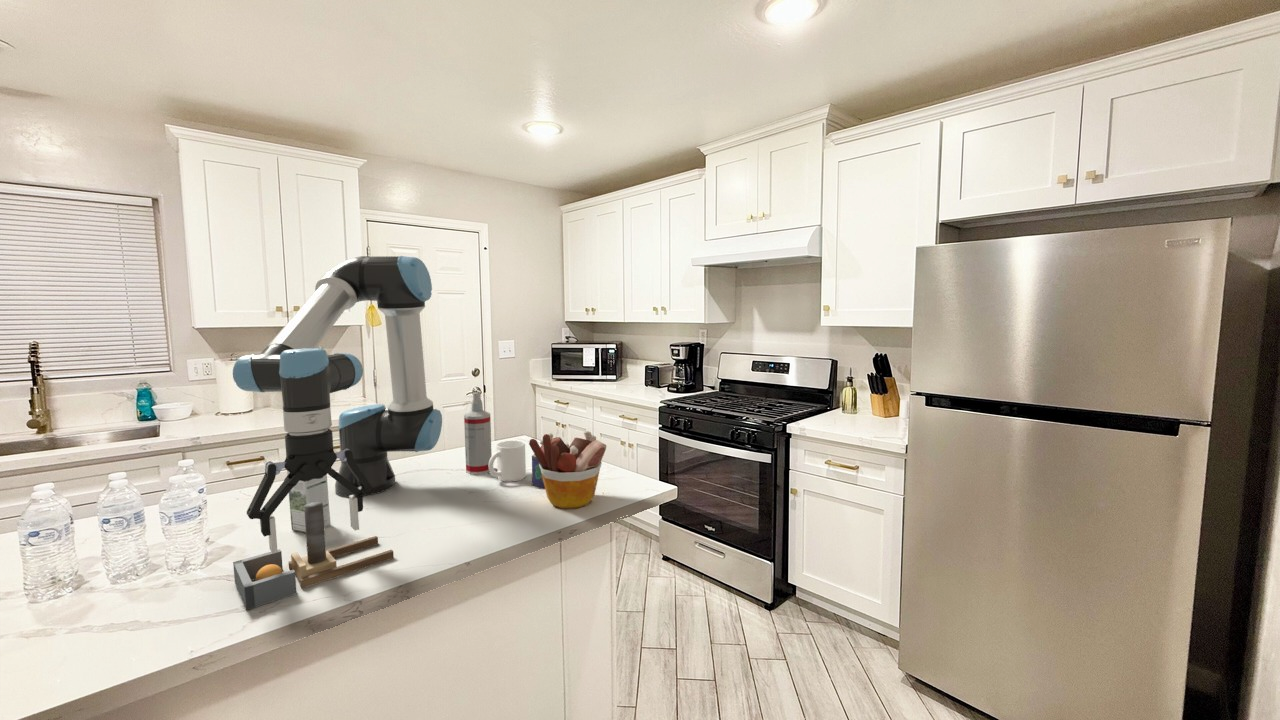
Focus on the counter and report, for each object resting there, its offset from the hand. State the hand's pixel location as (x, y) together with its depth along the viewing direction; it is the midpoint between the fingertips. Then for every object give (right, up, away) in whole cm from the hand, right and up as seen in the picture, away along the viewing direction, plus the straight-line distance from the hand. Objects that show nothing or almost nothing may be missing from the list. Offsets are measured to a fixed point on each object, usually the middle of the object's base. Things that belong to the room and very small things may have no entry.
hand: (316, 539), depth 98 cm
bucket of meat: (+44, -3, +36) cm, 57 cm away
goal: (-5, -7, -5) cm, 10 cm away
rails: (+3, -6, +3) cm, 8 cm away
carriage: (0, -6, 0) cm, 6 cm away
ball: (-5, -5, -5) cm, 9 cm away
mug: (+22, -1, +54) cm, 59 cm away
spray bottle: (+12, -1, +62) cm, 63 cm away
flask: (+35, -2, +47) cm, 59 cm away
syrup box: (-14, -5, +20) cm, 25 cm away
